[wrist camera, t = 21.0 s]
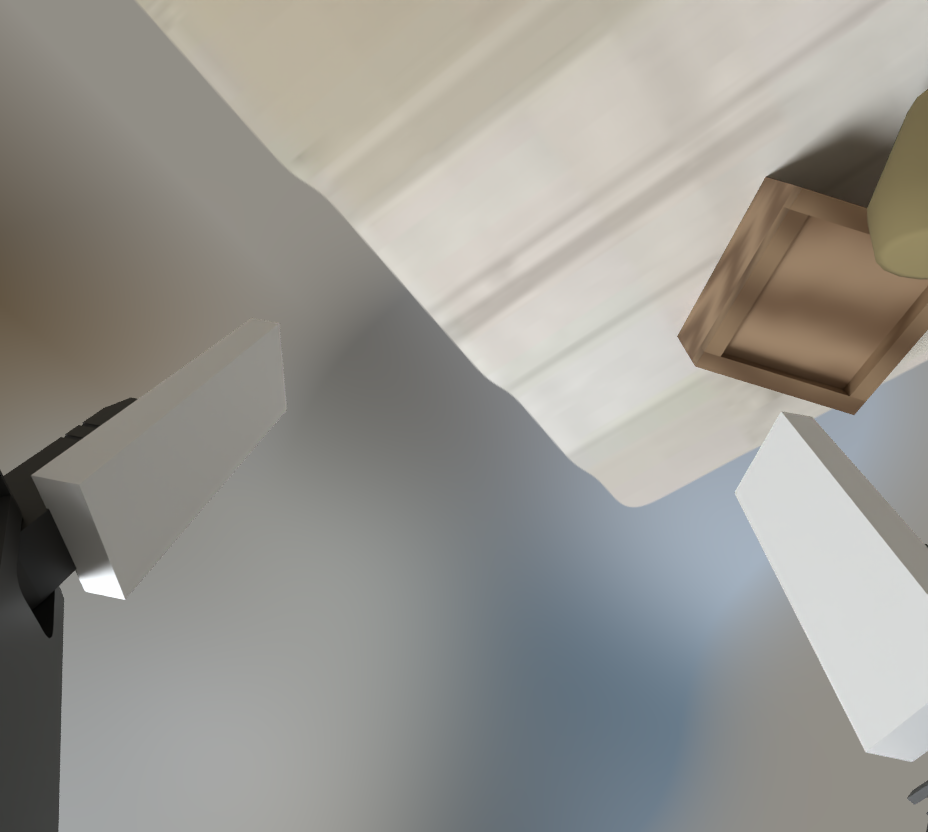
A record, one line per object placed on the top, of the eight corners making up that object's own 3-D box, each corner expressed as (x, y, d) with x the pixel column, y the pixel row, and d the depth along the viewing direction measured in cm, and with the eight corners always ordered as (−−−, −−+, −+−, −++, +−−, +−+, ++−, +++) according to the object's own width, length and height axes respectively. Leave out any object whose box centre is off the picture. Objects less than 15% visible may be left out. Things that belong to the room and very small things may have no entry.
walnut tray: (764, 176, 41) (802, 187, 35) (930, 229, 41) (996, 249, 35) (676, 335, 49) (695, 366, 43) (815, 377, 49) (854, 415, 43)
